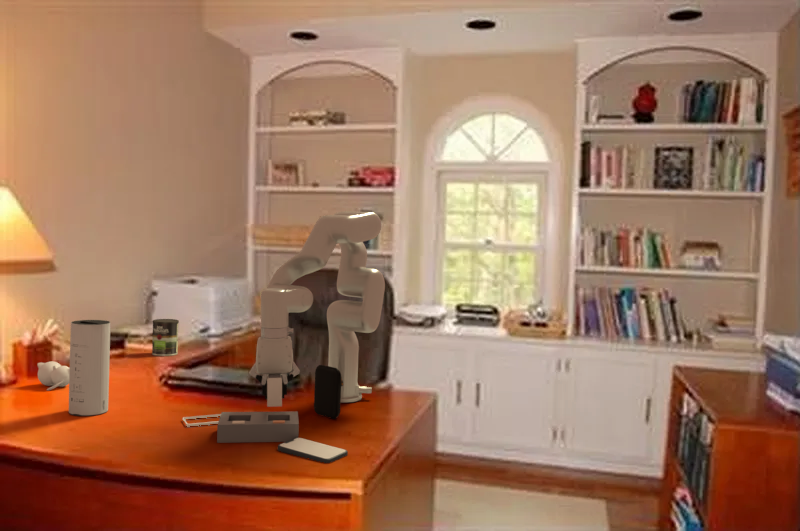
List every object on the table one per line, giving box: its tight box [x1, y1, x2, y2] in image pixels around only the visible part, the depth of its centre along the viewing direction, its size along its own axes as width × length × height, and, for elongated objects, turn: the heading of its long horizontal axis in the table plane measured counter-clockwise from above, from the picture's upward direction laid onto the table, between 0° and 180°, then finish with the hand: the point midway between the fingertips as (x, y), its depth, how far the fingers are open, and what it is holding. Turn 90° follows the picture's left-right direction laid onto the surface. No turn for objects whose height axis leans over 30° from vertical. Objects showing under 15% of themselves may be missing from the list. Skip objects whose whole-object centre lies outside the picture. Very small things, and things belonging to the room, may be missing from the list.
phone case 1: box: [181, 413, 221, 428], centre depth 188 cm, size 7×1×15 cm
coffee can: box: [151, 318, 180, 357], centre depth 283 cm, size 10×10×14 cm
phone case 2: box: [277, 437, 348, 464], centre depth 165 cm, size 9×2×16 cm
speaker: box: [68, 319, 111, 417], centre depth 192 cm, size 11×10×26 cm
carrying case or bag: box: [313, 364, 343, 420], centre depth 196 cm, size 11×3×15 cm, turn 51°
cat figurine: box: [37, 361, 70, 391], centre depth 220 cm, size 9×11×12 cm
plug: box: [266, 374, 283, 408], centre depth 190 cm, size 4×4×9 cm
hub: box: [216, 410, 300, 444], centre depth 177 cm, size 20×12×5 cm, turn 100°
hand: (274, 396), depth 191 cm, fingers closed on plug, 4 cm apart
